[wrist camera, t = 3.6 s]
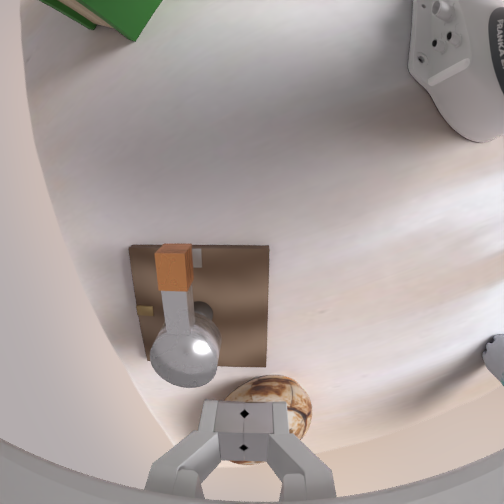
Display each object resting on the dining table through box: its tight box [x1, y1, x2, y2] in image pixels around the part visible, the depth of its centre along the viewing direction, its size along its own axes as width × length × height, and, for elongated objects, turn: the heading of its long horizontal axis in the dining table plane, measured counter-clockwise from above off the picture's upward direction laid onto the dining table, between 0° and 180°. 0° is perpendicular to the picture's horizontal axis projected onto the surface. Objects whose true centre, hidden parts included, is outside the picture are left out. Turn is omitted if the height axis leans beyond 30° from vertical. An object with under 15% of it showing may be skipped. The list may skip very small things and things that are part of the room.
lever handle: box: [150, 244, 222, 388], centre depth 26 cm, size 13×6×4 cm, turn 0°
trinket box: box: [224, 375, 312, 465], centre depth 36 cm, size 13×15×8 cm
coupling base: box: [129, 245, 269, 367], centre depth 32 cm, size 15×15×6 cm
